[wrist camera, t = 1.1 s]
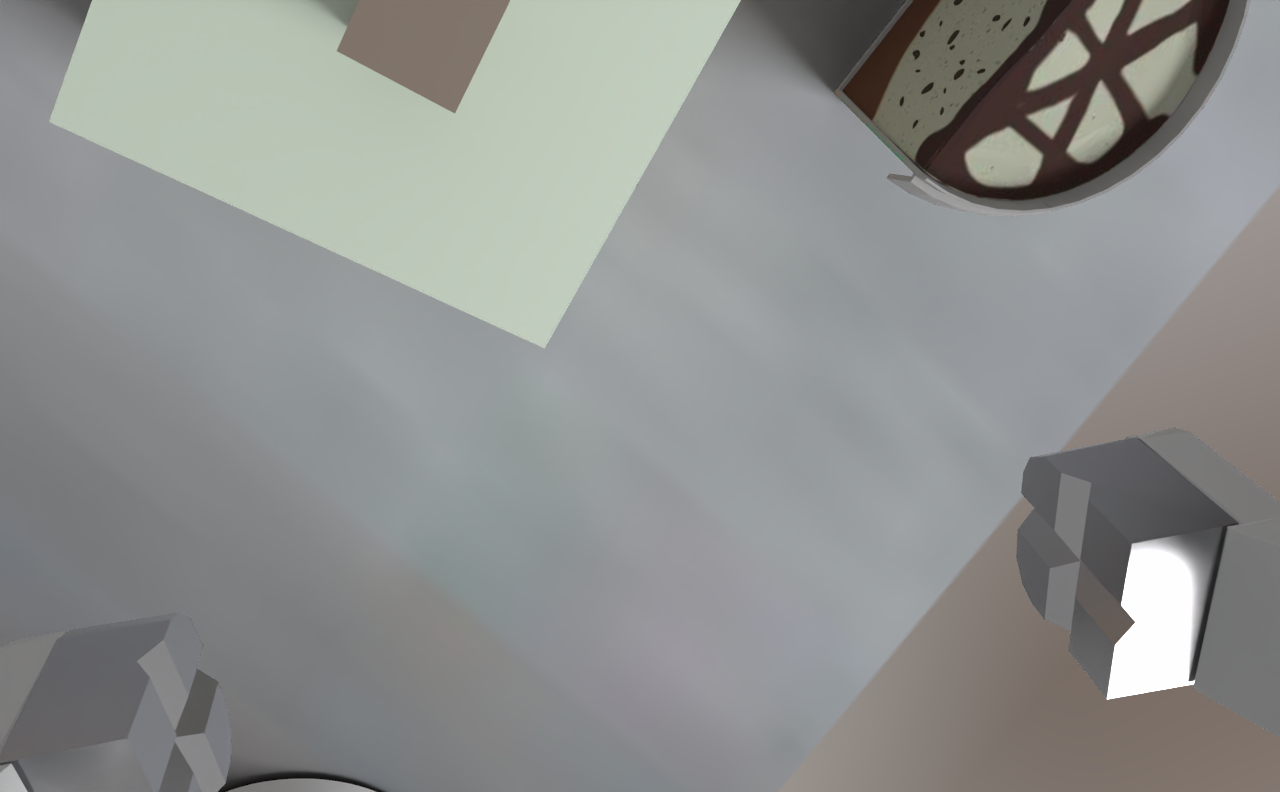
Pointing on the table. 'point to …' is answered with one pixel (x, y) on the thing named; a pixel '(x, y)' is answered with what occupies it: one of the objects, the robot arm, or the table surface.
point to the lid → (404, 125)
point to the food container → (1037, 94)
